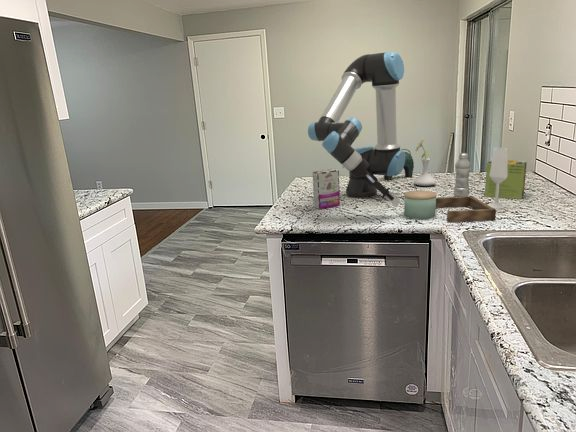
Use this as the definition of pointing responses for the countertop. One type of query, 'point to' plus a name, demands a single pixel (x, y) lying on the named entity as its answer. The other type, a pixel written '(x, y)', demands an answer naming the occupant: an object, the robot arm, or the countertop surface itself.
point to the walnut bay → (478, 214)
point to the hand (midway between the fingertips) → (398, 204)
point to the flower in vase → (424, 170)
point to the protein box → (508, 181)
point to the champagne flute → (498, 172)
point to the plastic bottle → (462, 176)
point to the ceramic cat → (405, 166)
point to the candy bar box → (326, 188)
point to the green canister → (419, 204)
